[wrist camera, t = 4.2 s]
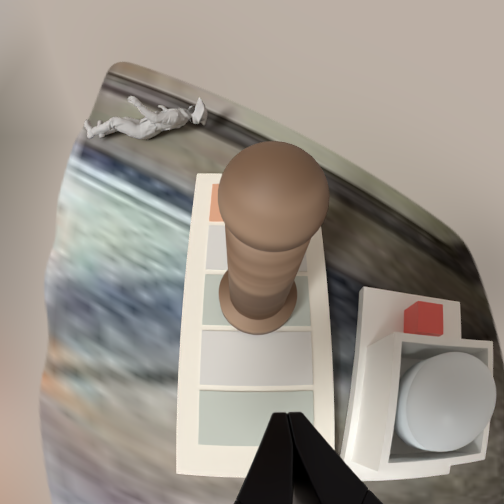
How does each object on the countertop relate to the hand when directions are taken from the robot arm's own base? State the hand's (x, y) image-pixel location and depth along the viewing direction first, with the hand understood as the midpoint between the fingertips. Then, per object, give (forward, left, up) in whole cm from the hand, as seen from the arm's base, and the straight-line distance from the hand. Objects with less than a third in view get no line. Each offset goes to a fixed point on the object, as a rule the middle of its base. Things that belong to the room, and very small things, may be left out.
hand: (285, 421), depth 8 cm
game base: (+3, -11, -12) cm, 17 cm away
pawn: (+7, +1, -11) cm, 13 cm away
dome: (+1, -11, -10) cm, 14 cm away
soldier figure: (+23, +15, -13) cm, 30 cm away
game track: (+7, +1, -12) cm, 14 cm away
